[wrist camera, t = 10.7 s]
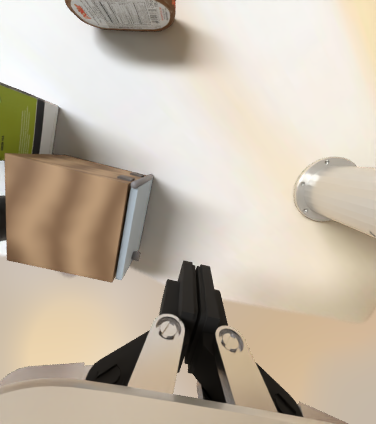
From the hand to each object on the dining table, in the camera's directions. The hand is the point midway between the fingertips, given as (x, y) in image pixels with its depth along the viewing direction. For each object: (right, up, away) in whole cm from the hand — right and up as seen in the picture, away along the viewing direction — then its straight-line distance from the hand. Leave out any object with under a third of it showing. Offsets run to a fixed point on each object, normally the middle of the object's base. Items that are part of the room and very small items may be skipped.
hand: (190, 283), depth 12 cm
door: (-9, +4, +27) cm, 28 cm away
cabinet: (-18, +6, +27) cm, 33 cm away
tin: (-9, +35, +18) cm, 40 cm away
